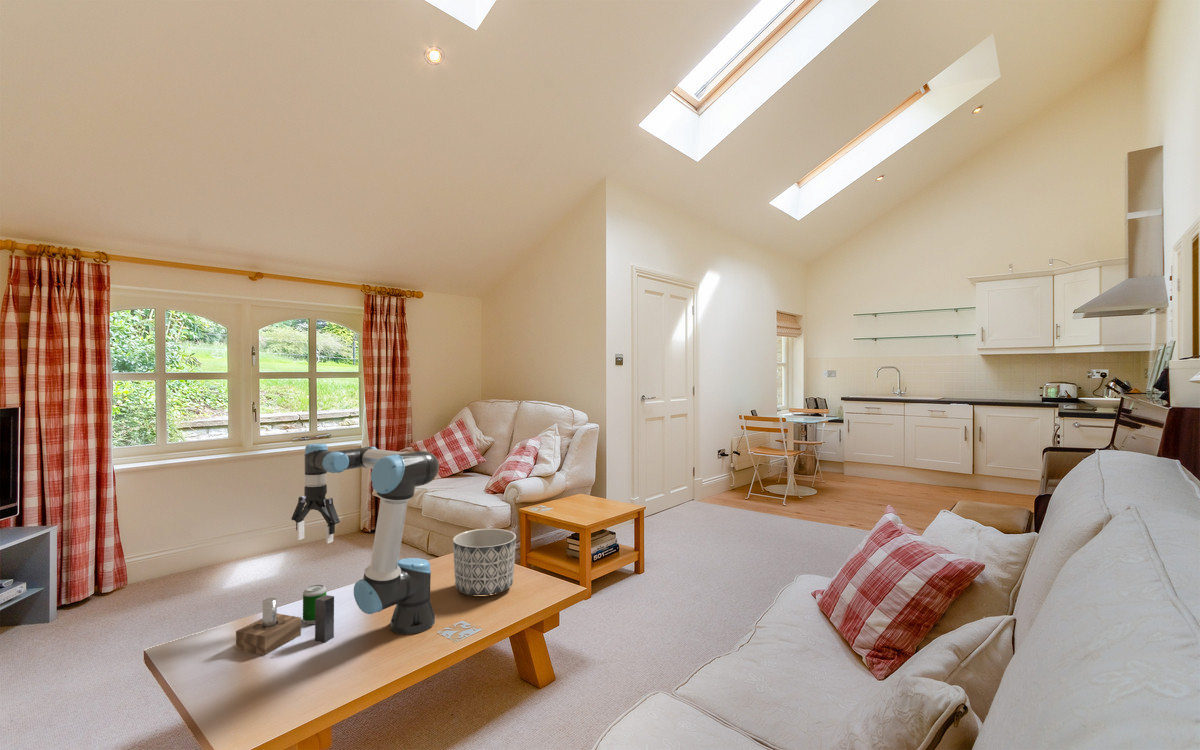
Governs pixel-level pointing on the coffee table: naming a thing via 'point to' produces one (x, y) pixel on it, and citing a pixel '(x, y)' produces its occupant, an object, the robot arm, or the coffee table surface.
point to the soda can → (311, 602)
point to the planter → (484, 561)
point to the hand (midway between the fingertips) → (315, 540)
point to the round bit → (269, 612)
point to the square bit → (324, 618)
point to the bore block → (268, 635)
